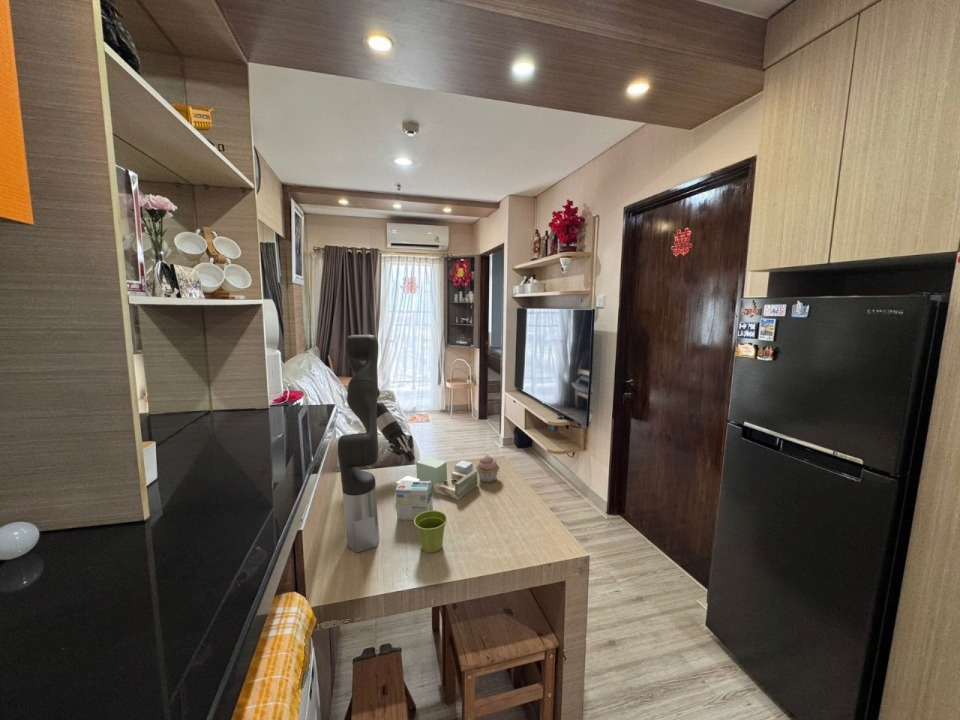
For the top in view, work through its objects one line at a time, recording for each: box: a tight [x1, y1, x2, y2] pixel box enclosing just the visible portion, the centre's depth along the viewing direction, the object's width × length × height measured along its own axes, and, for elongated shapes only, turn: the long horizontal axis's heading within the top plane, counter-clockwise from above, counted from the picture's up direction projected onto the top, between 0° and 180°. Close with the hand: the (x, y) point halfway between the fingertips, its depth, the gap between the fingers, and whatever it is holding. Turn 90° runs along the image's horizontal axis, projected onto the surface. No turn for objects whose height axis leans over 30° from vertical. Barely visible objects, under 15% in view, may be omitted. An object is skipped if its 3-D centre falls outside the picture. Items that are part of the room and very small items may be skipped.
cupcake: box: [475, 454, 501, 483], centre depth 154 cm, size 9×9×10 cm
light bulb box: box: [394, 479, 434, 521], centre depth 130 cm, size 11×7×11 cm, turn 84°
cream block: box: [395, 475, 420, 489], centre depth 143 cm, size 6×6×6 cm
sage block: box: [415, 456, 448, 487], centre depth 153 cm, size 10×6×8 cm, turn 57°
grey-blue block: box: [454, 460, 474, 475], centre depth 157 cm, size 5×5×5 cm
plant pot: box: [413, 510, 448, 554], centre depth 114 cm, size 9×9×9 cm
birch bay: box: [433, 469, 478, 501], centre depth 147 cm, size 11×12×6 cm
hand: (412, 460), depth 158 cm, fingers closed
